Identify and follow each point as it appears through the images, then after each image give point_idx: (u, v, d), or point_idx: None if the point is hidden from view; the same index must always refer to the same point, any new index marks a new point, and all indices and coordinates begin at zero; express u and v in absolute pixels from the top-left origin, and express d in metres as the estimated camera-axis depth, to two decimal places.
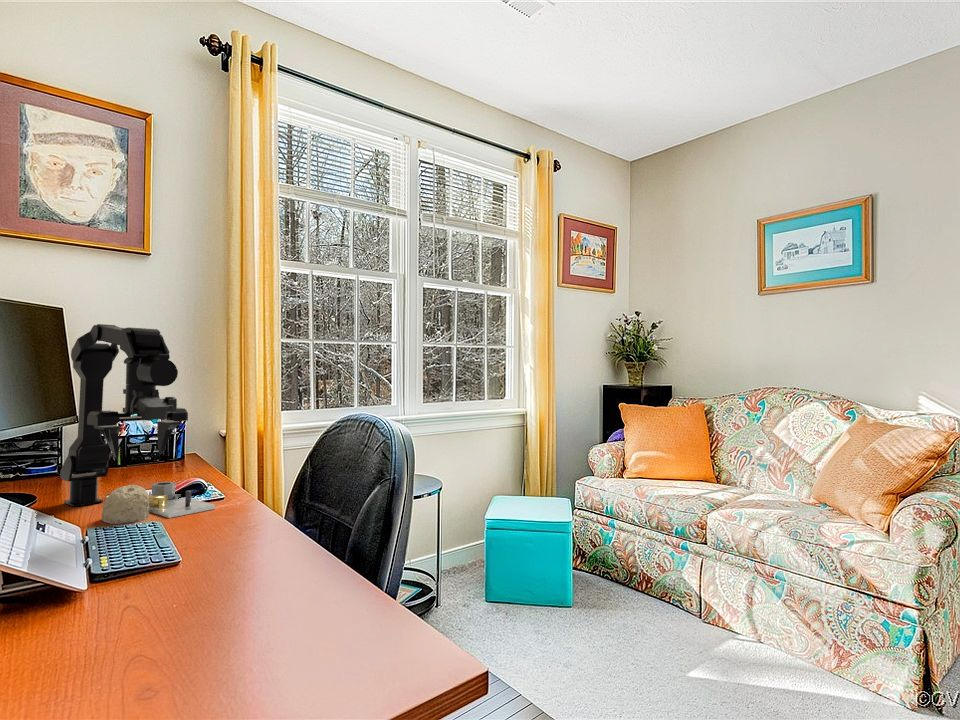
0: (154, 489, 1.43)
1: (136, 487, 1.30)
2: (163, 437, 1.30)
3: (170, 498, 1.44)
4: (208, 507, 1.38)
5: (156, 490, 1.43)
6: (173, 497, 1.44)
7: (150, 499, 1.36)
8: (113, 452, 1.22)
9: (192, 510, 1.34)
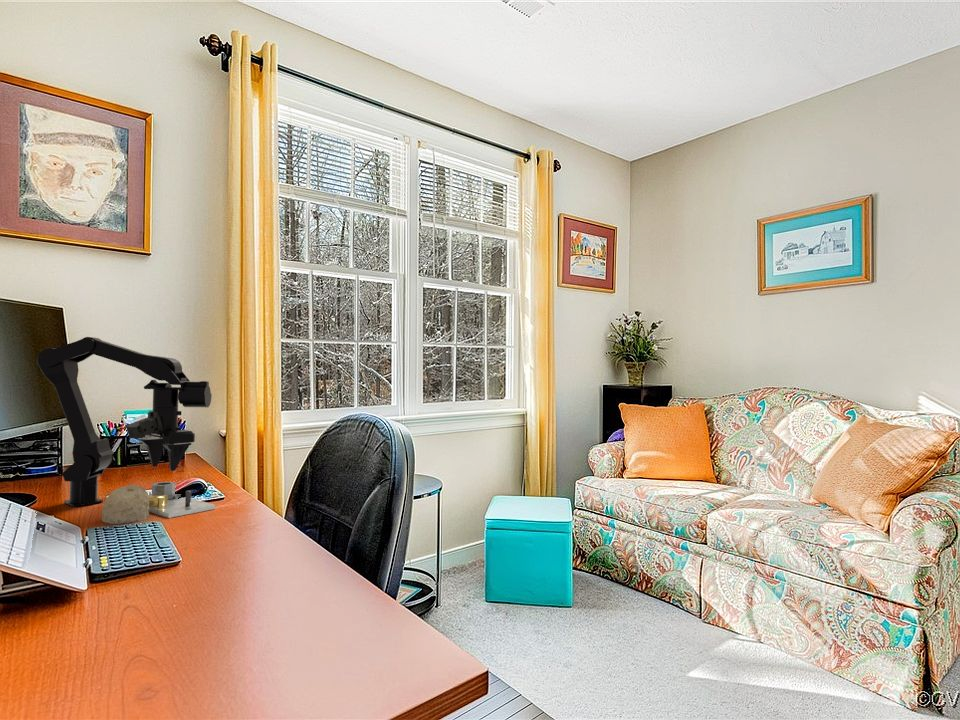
0: (154, 489, 1.43)
1: (136, 487, 1.30)
2: None
3: (170, 498, 1.44)
4: (208, 507, 1.38)
5: (156, 490, 1.43)
6: (173, 497, 1.44)
7: (150, 499, 1.36)
8: None
9: (192, 510, 1.34)
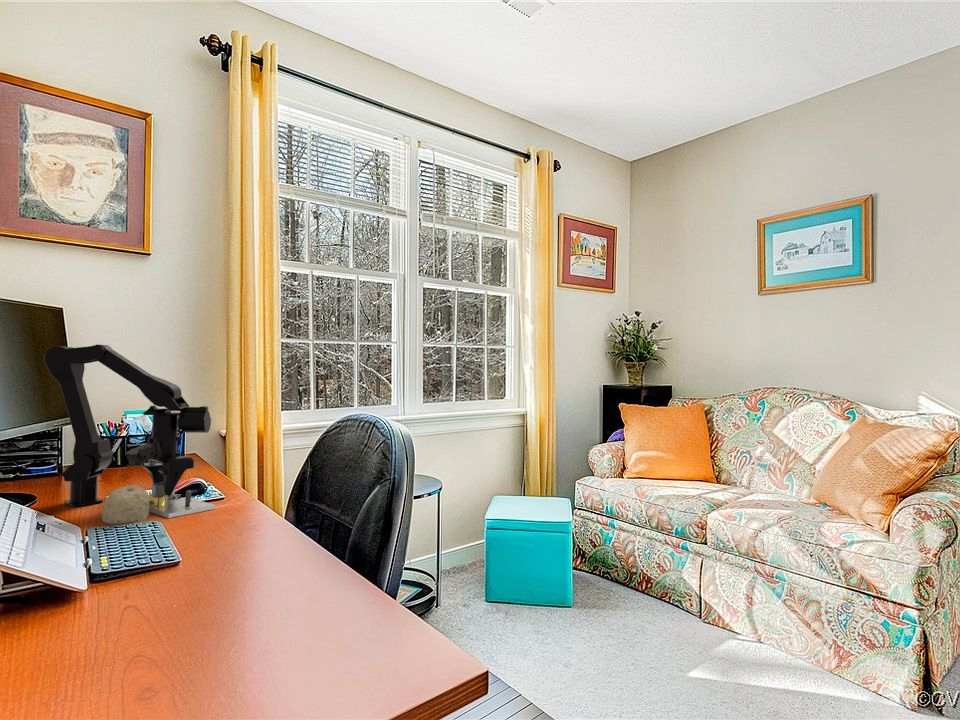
0: (154, 489, 1.43)
1: (136, 487, 1.30)
2: None
3: (170, 498, 1.44)
4: (208, 507, 1.38)
5: (156, 490, 1.43)
6: (173, 497, 1.44)
7: (150, 499, 1.36)
8: None
9: (192, 510, 1.34)
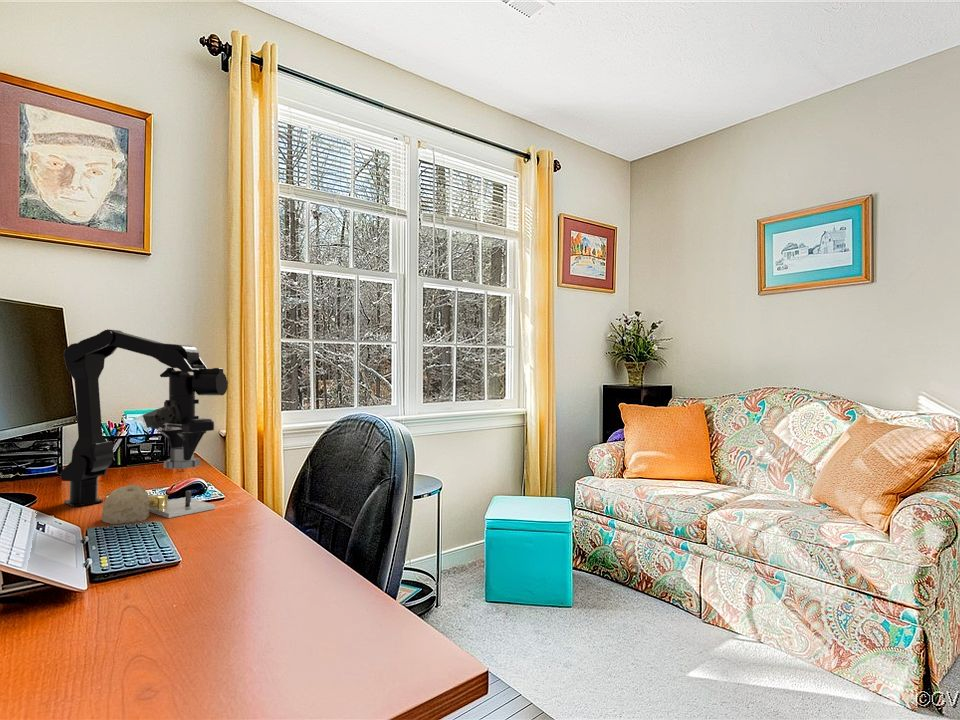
0: (173, 453, 1.39)
1: (136, 487, 1.30)
2: None
3: (190, 462, 1.39)
4: (208, 507, 1.38)
5: (175, 454, 1.38)
6: (193, 461, 1.40)
7: (150, 499, 1.36)
8: None
9: (192, 510, 1.34)
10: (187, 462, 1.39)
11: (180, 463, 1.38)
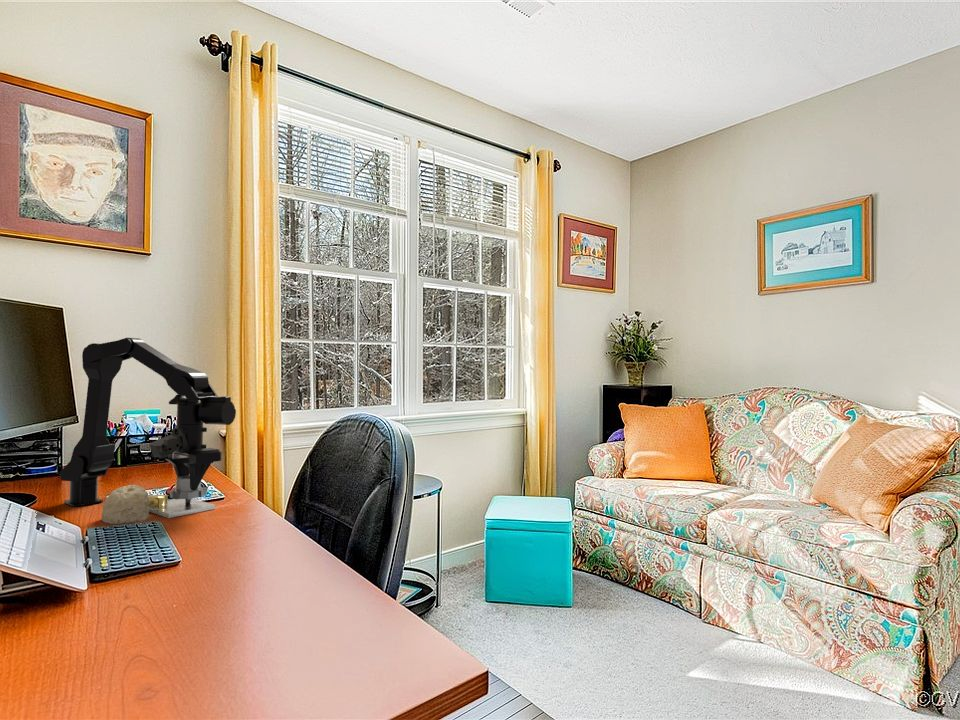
0: (179, 483, 1.35)
1: (136, 487, 1.30)
2: None
3: (196, 492, 1.36)
4: (208, 507, 1.38)
5: (181, 484, 1.35)
6: (199, 491, 1.36)
7: (150, 499, 1.36)
8: None
9: (192, 510, 1.34)
10: (193, 492, 1.35)
11: (186, 493, 1.35)
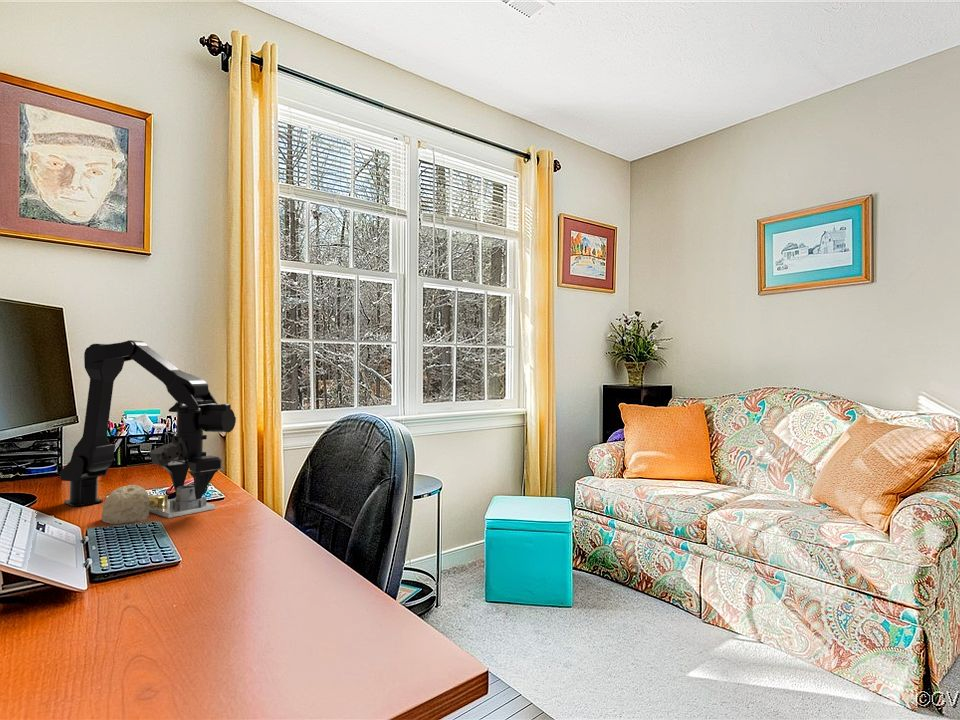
0: (179, 493, 1.35)
1: (136, 487, 1.30)
2: None
3: (196, 502, 1.36)
4: (208, 507, 1.38)
5: (181, 494, 1.35)
6: (199, 501, 1.36)
7: (150, 499, 1.36)
8: None
9: (192, 510, 1.34)
10: (193, 502, 1.35)
11: (186, 503, 1.34)
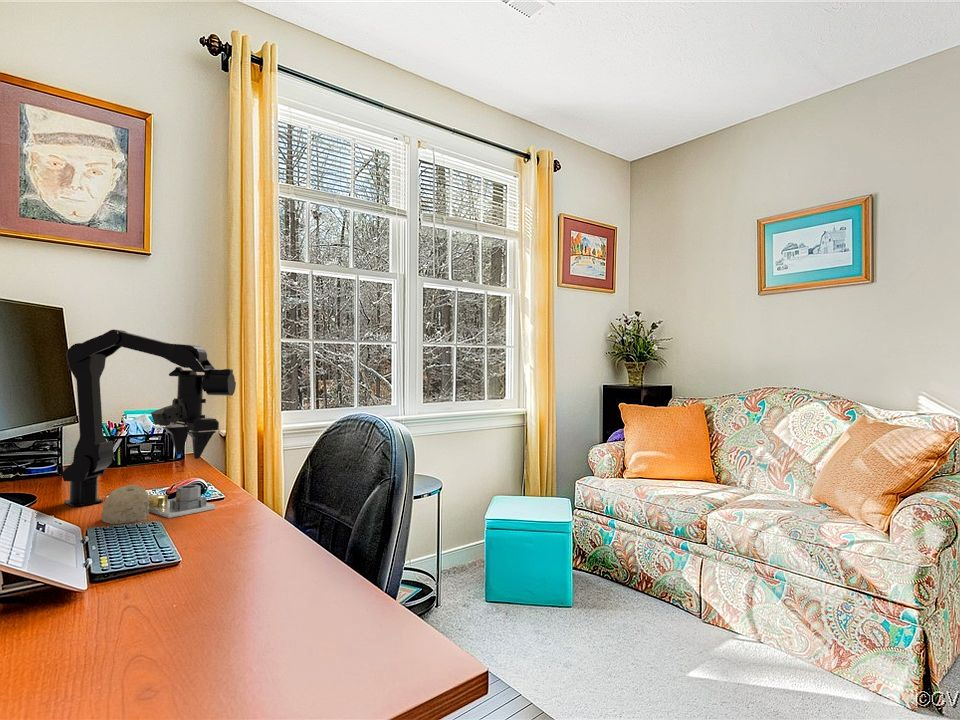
0: (179, 493, 1.35)
1: (136, 487, 1.30)
2: None
3: (196, 502, 1.36)
4: (208, 507, 1.38)
5: (181, 494, 1.35)
6: (199, 501, 1.36)
7: (150, 499, 1.36)
8: None
9: (192, 510, 1.34)
10: (193, 502, 1.35)
11: (186, 503, 1.34)
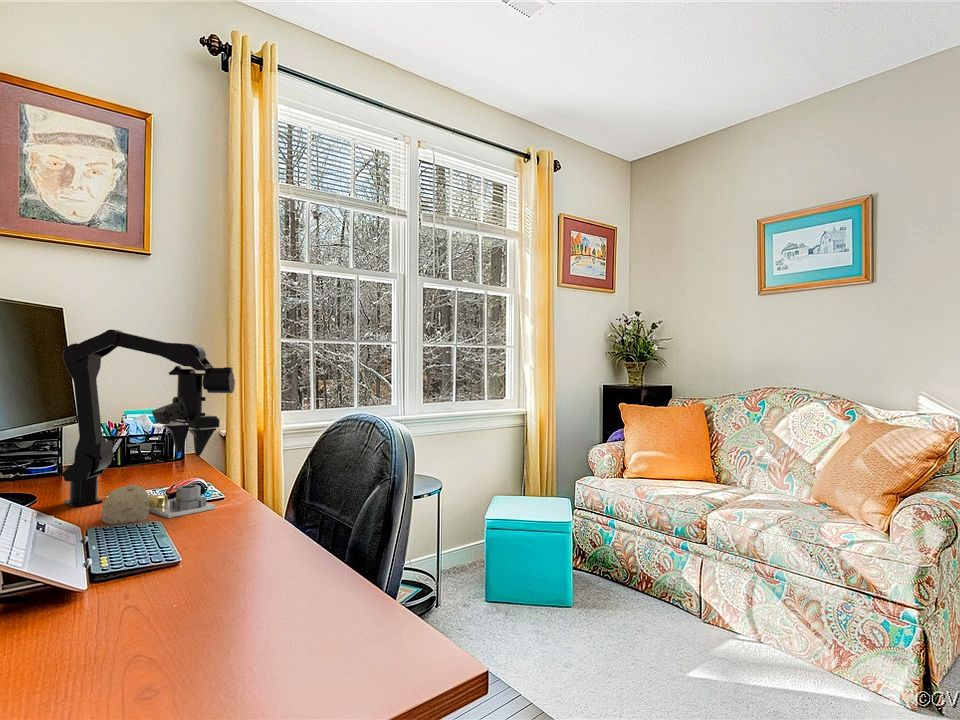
0: (179, 493, 1.35)
1: (136, 487, 1.30)
2: None
3: (196, 502, 1.36)
4: (208, 507, 1.38)
5: (181, 494, 1.35)
6: (199, 501, 1.36)
7: (150, 499, 1.36)
8: None
9: (192, 510, 1.34)
10: (193, 502, 1.35)
11: (186, 503, 1.34)
